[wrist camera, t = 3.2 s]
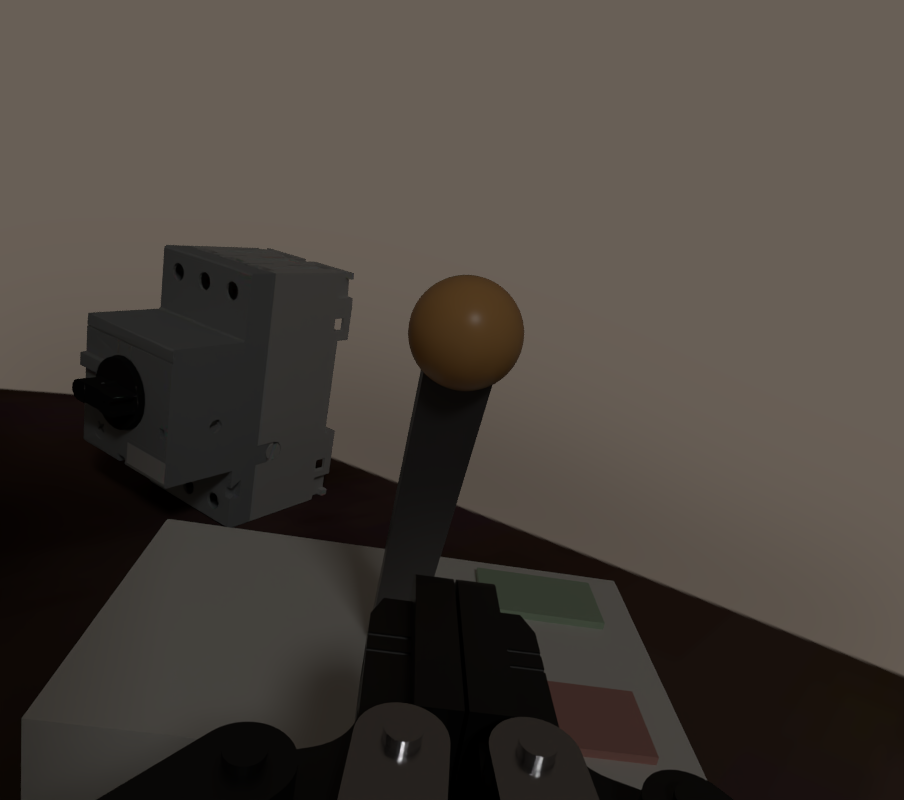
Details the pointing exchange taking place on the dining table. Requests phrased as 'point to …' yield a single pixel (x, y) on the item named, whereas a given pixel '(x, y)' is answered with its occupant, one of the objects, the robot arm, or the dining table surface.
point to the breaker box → (310, 659)
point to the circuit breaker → (221, 379)
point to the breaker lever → (445, 416)
